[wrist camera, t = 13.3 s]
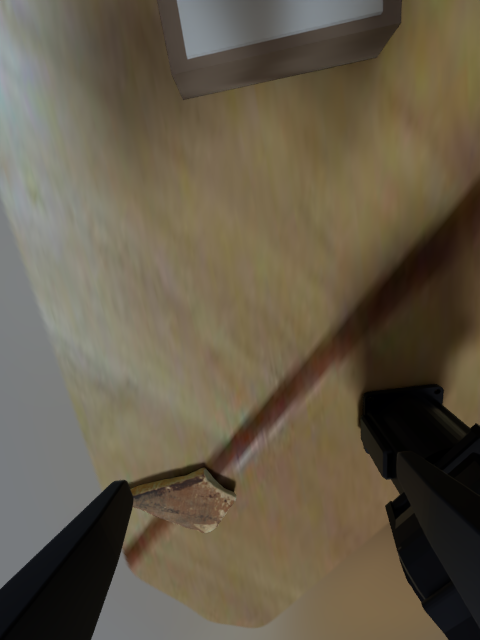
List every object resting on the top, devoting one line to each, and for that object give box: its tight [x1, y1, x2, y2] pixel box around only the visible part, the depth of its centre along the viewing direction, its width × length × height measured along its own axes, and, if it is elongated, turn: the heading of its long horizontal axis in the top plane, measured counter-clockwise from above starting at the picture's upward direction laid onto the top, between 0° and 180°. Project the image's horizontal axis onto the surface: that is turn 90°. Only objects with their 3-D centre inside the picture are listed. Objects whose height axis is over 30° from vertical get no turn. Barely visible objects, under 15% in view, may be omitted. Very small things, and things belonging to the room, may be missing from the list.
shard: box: [130, 468, 236, 533], centre depth 26 cm, size 11×8×2 cm
